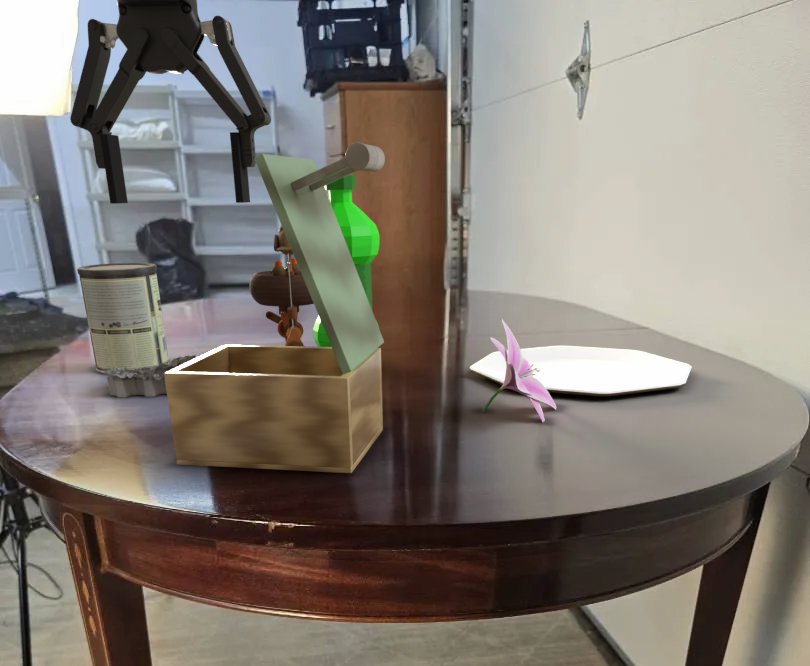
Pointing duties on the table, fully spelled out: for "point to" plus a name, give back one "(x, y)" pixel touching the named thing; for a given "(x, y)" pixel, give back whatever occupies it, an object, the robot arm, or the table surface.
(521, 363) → the lily
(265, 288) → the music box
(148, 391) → the egg carton
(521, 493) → the table surface
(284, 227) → the lid
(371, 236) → the plastic bottle
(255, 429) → the tan wooden box
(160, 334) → the coffee can
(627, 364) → the plate
